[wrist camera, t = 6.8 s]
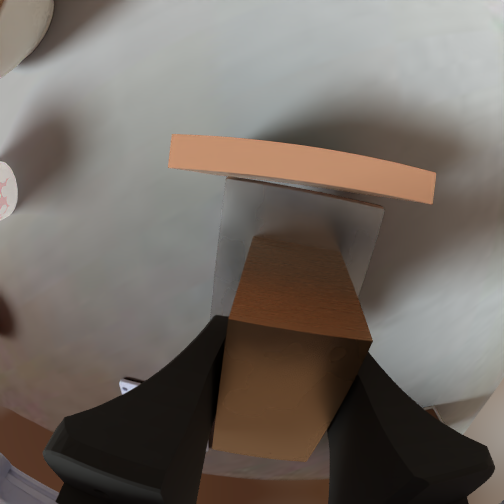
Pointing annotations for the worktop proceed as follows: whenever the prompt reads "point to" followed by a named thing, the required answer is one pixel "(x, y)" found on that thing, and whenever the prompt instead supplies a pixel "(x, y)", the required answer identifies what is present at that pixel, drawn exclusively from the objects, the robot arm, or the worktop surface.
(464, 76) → the worktop surface
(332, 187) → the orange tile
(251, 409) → the tan block on plate
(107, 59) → the worktop surface
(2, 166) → the beverage cup
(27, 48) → the lidded jar
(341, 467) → the robot arm
